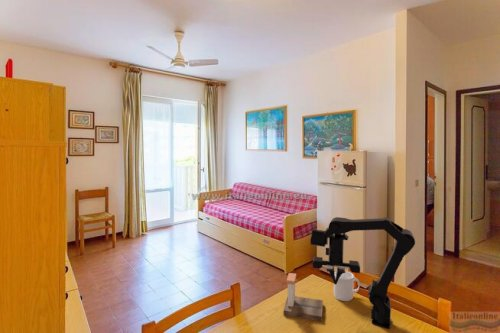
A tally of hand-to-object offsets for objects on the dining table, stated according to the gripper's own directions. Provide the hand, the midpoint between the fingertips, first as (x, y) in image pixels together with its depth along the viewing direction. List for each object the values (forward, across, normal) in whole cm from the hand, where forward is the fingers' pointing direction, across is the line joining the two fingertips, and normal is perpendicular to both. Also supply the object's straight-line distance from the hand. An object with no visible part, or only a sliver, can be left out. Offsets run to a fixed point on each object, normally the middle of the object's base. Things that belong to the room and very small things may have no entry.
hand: (335, 283), depth 119 cm
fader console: (+12, +13, +3) cm, 18 cm away
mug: (+12, -6, -13) cm, 19 cm away
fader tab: (+10, +18, +3) cm, 21 cm away
